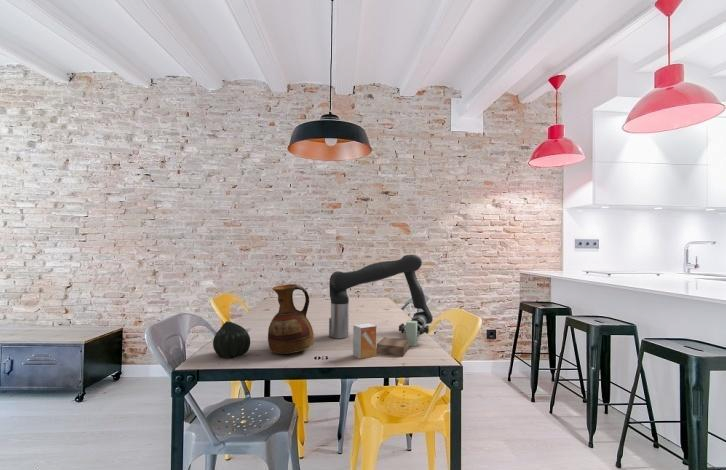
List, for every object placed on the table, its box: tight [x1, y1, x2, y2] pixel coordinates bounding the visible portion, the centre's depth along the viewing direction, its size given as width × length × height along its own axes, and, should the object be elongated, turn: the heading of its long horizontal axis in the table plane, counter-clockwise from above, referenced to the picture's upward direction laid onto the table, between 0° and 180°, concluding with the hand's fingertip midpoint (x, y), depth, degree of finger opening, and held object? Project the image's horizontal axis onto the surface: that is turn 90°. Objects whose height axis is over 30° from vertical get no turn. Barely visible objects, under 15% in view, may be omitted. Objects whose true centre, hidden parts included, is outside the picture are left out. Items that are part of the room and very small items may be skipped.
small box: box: [352, 323, 377, 360], centre depth 158 cm, size 8×6×13 cm
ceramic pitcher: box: [267, 283, 315, 355], centre depth 164 cm, size 20×20×30 cm
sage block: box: [405, 320, 418, 348], centre depth 175 cm, size 4×4×11 cm
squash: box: [212, 320, 251, 359], centre depth 158 cm, size 14×15×15 cm
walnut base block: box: [376, 337, 410, 357], centre depth 165 cm, size 12×12×4 cm
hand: (411, 331), depth 174 cm, fingers open, 8 cm apart
